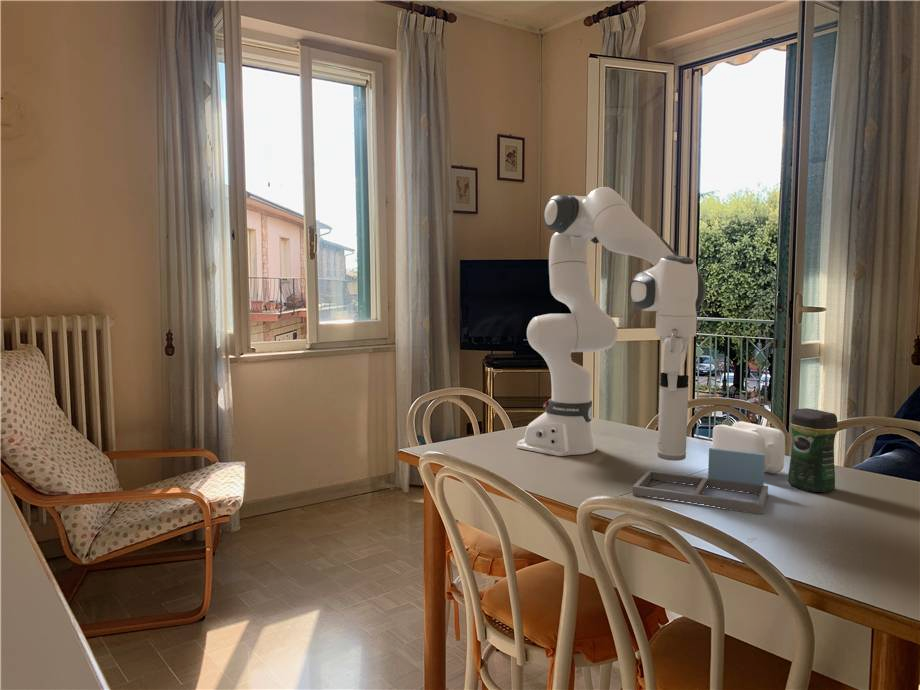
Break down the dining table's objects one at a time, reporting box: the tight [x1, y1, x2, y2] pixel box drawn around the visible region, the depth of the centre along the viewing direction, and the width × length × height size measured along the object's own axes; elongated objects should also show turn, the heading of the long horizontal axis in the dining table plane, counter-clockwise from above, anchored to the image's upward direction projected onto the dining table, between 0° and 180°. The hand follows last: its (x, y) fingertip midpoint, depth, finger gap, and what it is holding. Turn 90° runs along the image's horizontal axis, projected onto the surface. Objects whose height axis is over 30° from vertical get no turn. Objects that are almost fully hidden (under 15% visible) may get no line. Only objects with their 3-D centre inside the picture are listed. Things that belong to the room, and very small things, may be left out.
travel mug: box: [657, 372, 689, 462], centre depth 158 cm, size 6×7×20 cm
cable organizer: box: [711, 420, 786, 474], centre depth 176 cm, size 15×11×12 cm
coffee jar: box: [787, 407, 839, 493], centre depth 161 cm, size 10×8×19 cm
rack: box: [632, 447, 769, 515], centre depth 157 cm, size 27×16×9 cm, turn 62°
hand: (673, 388), depth 158 cm, fingers closed on travel mug, 6 cm apart
